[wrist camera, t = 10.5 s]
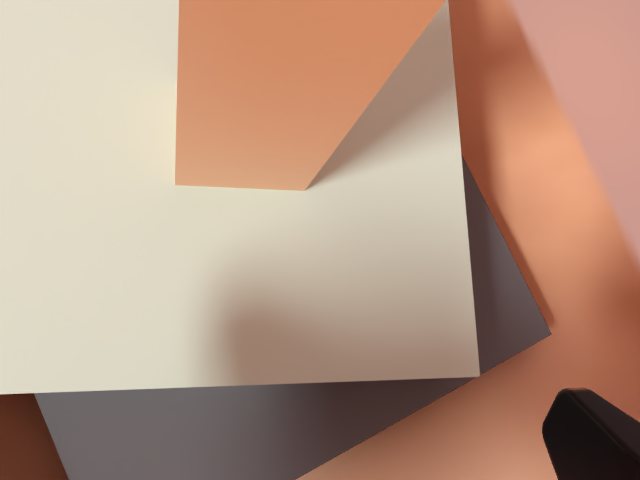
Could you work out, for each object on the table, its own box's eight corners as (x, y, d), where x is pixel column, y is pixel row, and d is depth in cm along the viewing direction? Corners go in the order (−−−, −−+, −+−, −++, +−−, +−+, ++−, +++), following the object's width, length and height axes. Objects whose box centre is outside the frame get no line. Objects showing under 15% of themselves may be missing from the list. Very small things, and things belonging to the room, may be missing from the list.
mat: (531, 336, 18) (551, 334, 17) (115, 569, 14) (110, 584, 13) (311, -106, 19) (318, -131, 19) (-121, -9, 15) (-141, -34, 15)
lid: (443, 376, 16) (842, 384, 6) (-23, 392, 13) (-519, 449, 4) (416, 2, 18) (678, -392, 9) (17, -50, 16) (-220, -704, 6)
